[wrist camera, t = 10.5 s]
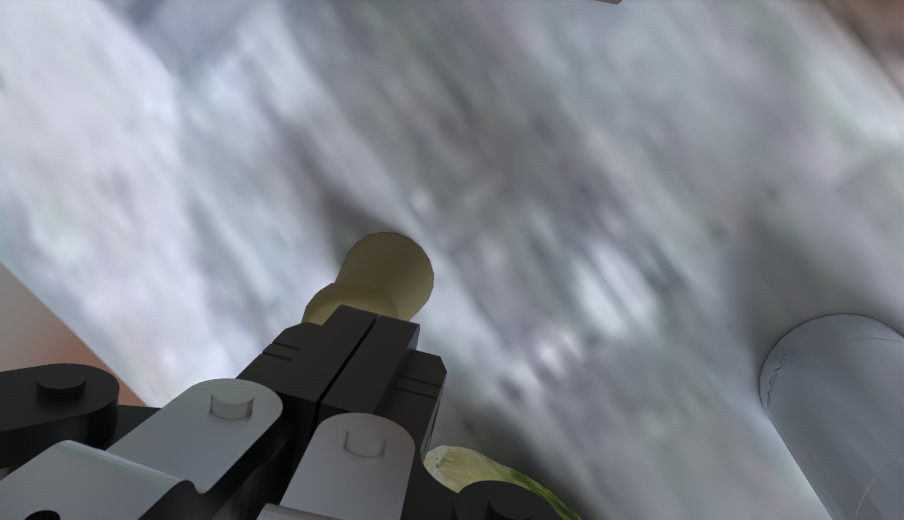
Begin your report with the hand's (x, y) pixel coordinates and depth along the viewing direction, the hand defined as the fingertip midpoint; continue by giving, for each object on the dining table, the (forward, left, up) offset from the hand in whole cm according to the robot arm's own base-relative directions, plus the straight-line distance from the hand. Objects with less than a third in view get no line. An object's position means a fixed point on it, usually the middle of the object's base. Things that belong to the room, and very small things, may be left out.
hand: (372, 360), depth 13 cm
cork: (+5, +9, -31) cm, 33 cm away
